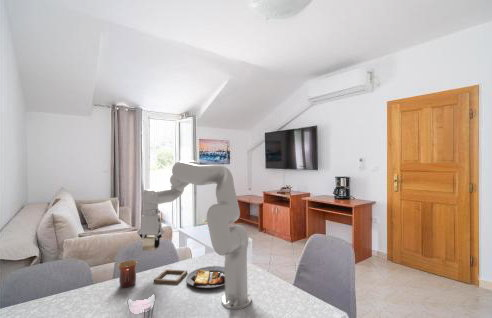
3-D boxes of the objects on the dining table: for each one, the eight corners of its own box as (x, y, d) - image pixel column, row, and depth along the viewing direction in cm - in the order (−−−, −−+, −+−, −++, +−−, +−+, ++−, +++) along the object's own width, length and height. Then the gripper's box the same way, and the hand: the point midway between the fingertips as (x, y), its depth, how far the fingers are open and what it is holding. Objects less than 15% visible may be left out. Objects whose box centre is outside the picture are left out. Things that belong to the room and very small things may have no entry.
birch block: (153, 251, 132) (153, 239, 132) (142, 250, 133) (142, 238, 133) (159, 247, 137) (159, 235, 138) (149, 246, 138) (148, 235, 139)
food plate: (232, 291, 116) (232, 283, 116) (181, 292, 117) (181, 284, 117) (235, 270, 141) (235, 263, 141) (193, 271, 142) (193, 264, 142)
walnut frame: (177, 284, 125) (177, 281, 125) (153, 282, 127) (153, 279, 127) (187, 273, 137) (187, 270, 137) (165, 272, 139) (165, 269, 139)
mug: (118, 282, 128) (118, 261, 128) (137, 279, 131) (137, 259, 131) (116, 293, 117) (116, 271, 117) (137, 289, 120) (136, 267, 120)
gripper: (169, 211, 137) (169, 245, 137) (139, 211, 140) (140, 244, 140) (162, 214, 130) (162, 249, 130) (131, 213, 133) (131, 248, 133)
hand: (151, 246), depth 135 cm, fingers closed on birch block, 6 cm apart
